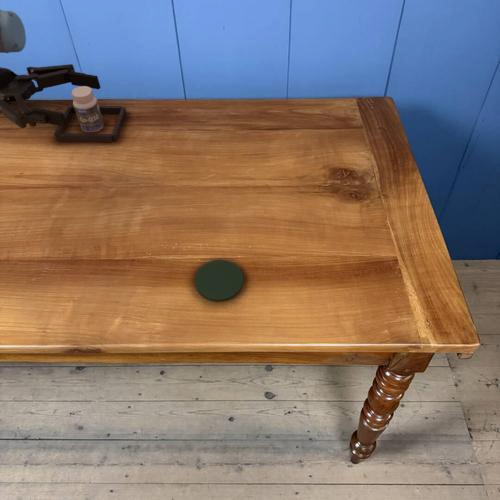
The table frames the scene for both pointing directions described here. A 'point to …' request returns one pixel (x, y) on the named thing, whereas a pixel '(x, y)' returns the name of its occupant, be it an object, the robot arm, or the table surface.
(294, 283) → the table surface
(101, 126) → the pill bottle
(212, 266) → the mat
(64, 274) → the table surface
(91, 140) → the dark brown rectangular frame
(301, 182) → the table surface
